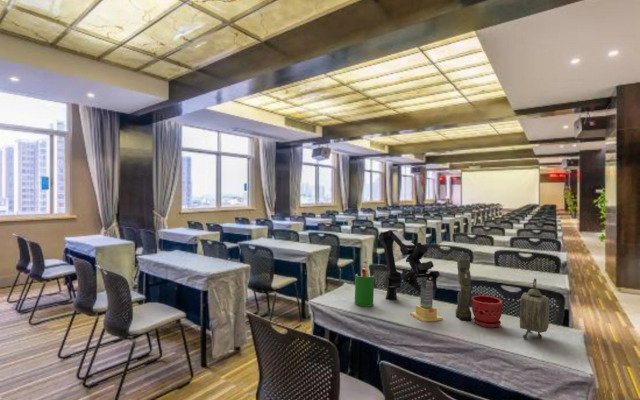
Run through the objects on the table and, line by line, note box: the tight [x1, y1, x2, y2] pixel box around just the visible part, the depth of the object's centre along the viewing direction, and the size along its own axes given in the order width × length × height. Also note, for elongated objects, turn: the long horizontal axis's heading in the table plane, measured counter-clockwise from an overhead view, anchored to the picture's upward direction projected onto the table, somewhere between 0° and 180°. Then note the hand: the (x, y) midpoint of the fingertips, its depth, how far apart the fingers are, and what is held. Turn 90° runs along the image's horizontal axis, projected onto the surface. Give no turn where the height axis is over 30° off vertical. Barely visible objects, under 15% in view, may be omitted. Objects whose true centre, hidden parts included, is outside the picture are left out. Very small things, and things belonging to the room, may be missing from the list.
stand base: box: [409, 304, 443, 323], centre depth 168 cm, size 11×11×5 cm
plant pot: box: [470, 295, 503, 329], centre depth 160 cm, size 13×13×12 cm
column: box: [419, 279, 434, 307], centre depth 168 cm, size 4×4×12 cm
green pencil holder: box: [354, 267, 375, 307], centre depth 186 cm, size 10×9×20 cm
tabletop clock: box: [519, 278, 550, 340], centre depth 146 cm, size 14×9×25 cm, turn 141°
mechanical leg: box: [455, 257, 472, 322], centre depth 171 cm, size 14×7×30 cm, turn 169°
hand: (428, 291), depth 167 cm, fingers open, 9 cm apart
